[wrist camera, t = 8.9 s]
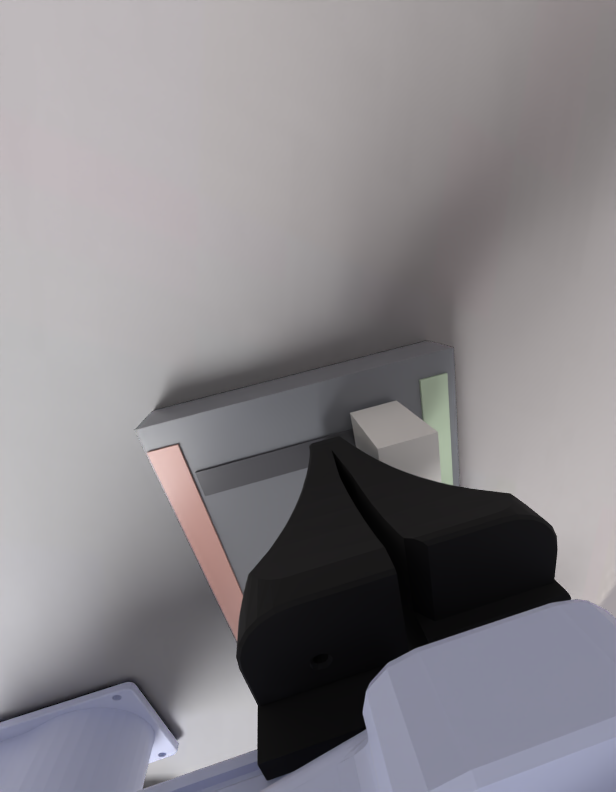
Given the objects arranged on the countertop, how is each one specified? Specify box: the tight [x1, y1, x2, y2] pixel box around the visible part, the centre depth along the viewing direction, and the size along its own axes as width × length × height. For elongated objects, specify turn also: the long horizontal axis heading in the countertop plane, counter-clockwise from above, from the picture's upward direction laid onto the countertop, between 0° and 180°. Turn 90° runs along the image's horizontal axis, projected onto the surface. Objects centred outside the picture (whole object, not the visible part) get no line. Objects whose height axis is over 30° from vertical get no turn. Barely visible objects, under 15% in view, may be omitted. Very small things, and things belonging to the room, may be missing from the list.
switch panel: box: [134, 340, 460, 642], centre depth 16 cm, size 13×22×2 cm, turn 12°
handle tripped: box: [350, 400, 441, 483], centre depth 11 cm, size 2×3×3 cm, turn 13°
